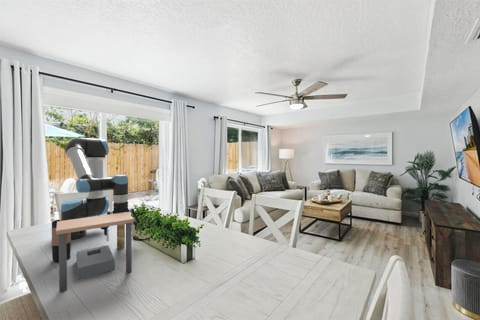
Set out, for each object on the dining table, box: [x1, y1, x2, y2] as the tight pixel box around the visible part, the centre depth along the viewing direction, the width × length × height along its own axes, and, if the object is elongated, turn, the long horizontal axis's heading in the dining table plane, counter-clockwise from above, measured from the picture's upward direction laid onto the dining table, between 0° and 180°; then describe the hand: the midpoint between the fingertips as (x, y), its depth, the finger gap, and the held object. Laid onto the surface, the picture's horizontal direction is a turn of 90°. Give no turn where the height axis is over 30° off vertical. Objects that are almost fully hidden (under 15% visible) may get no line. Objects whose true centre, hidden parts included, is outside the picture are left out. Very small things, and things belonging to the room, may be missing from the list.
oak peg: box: [116, 224, 126, 250], centre depth 130 cm, size 4×4×14 cm
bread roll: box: [132, 235, 140, 241], centre depth 147 cm, size 11×11×5 cm
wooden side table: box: [56, 212, 135, 293], centre depth 102 cm, size 15×28×25 cm, turn 128°
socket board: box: [75, 244, 115, 280], centre depth 110 cm, size 20×14×5 cm
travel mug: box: [51, 219, 72, 264], centre depth 115 cm, size 8×8×20 cm
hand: (120, 238), depth 130 cm, fingers open, 13 cm apart
